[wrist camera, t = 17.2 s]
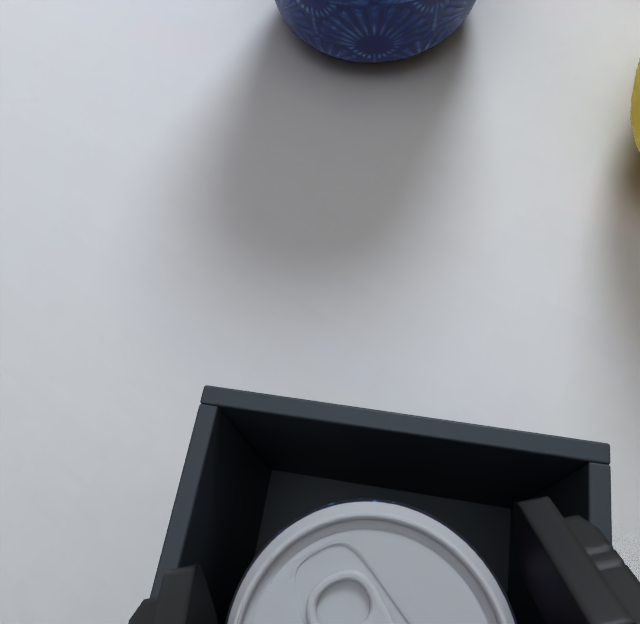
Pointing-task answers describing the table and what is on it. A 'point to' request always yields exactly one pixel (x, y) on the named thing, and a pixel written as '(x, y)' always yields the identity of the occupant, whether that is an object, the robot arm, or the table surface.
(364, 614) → the beverage can
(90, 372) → the table surface
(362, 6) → the planter
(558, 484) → the trash bin
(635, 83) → the teapot
